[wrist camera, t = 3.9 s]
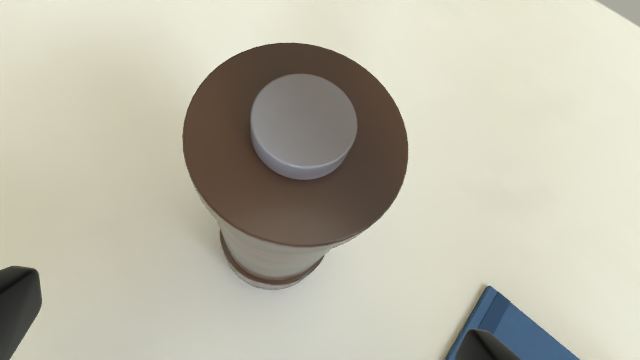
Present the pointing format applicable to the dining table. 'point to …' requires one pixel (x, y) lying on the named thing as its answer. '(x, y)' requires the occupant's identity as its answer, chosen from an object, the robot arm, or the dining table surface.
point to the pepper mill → (292, 157)
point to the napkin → (512, 330)
